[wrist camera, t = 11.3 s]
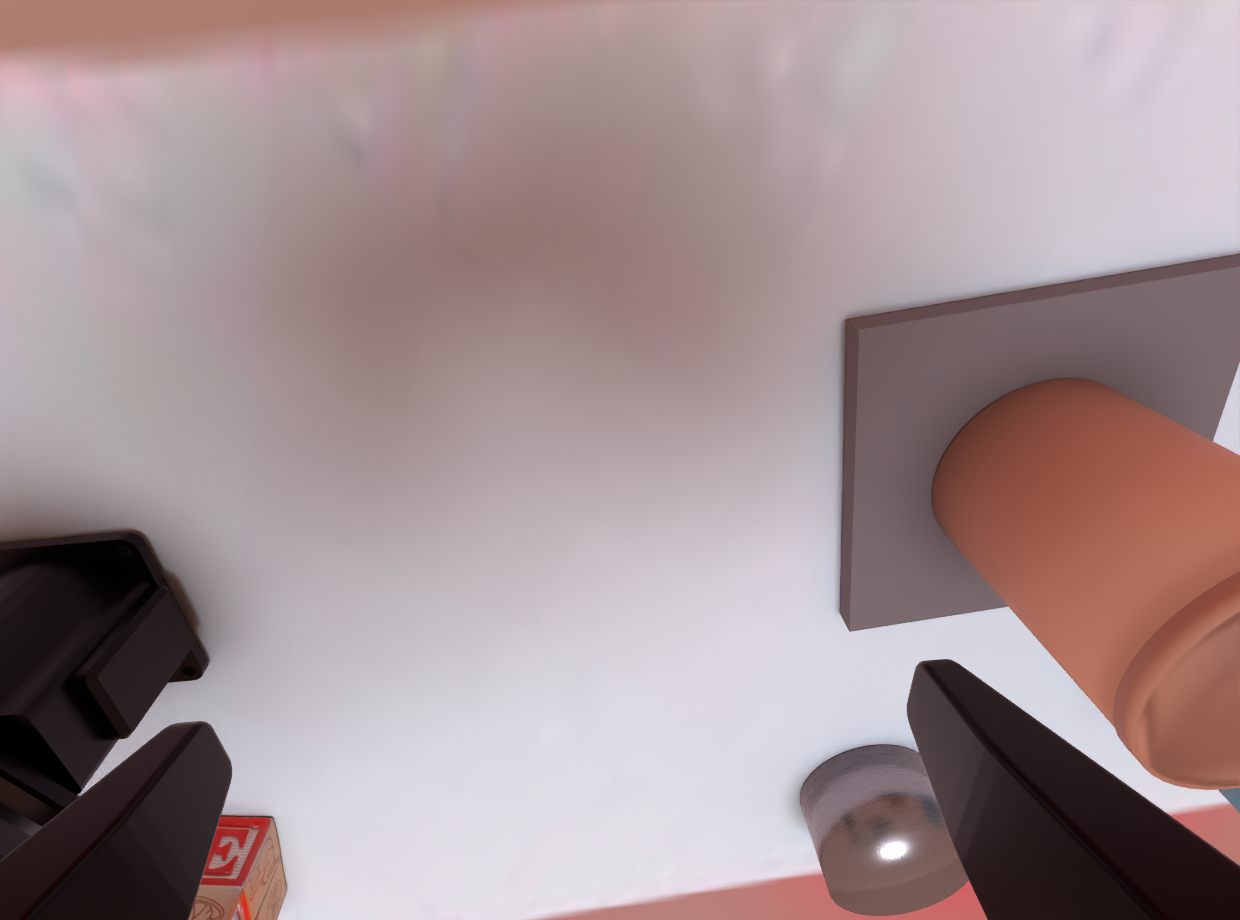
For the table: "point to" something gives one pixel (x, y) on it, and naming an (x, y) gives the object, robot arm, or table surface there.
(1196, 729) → the terracotta canister
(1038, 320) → the charcoal mat
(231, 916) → the stack of blocks
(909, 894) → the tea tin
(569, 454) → the table surface
